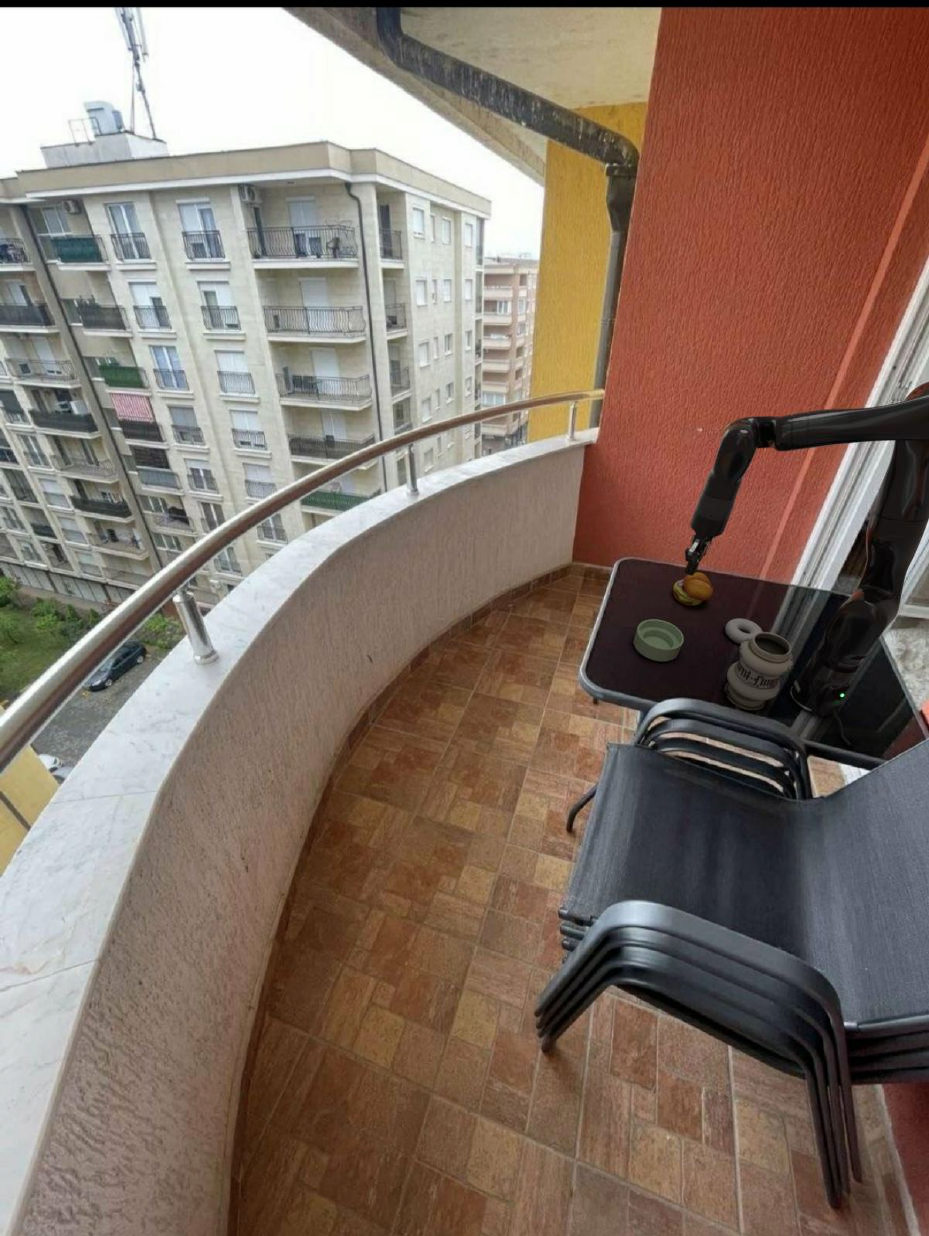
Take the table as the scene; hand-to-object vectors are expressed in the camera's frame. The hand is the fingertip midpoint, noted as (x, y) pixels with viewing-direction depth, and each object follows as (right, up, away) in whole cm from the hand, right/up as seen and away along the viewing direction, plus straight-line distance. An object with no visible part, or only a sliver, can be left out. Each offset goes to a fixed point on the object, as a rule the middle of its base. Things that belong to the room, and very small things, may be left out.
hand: (689, 573), depth 135 cm
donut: (+24, -16, +21) cm, 36 cm away
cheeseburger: (+14, -5, +34) cm, 37 cm away
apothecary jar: (+15, -31, +3) cm, 35 cm away
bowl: (-3, -19, +16) cm, 25 cm away
